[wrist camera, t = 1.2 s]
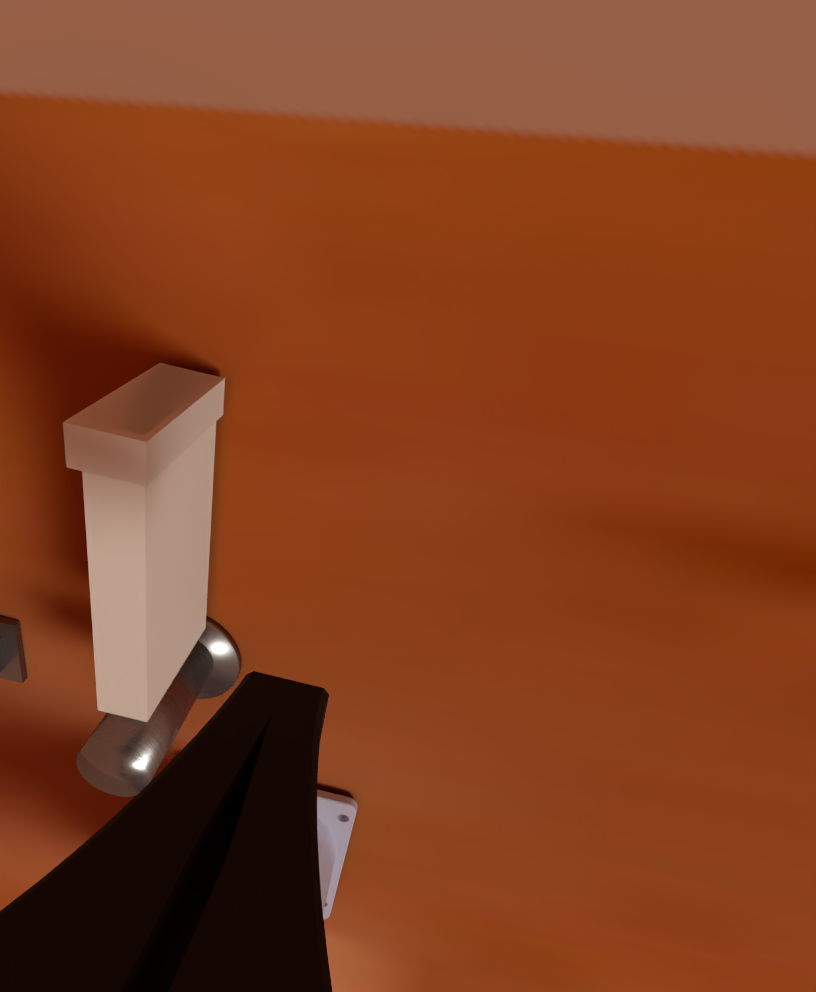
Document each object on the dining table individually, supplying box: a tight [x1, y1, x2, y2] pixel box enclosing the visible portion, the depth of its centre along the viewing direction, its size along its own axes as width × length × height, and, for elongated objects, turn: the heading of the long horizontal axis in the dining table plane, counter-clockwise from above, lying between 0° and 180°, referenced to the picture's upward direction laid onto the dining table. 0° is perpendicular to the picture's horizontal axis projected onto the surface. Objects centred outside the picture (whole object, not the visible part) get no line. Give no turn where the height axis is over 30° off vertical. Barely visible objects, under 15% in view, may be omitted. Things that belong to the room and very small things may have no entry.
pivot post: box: [76, 617, 241, 797], centre depth 22 cm, size 4×4×6 cm
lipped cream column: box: [63, 363, 225, 722], centre depth 19 cm, size 10×2×5 cm, turn 169°
